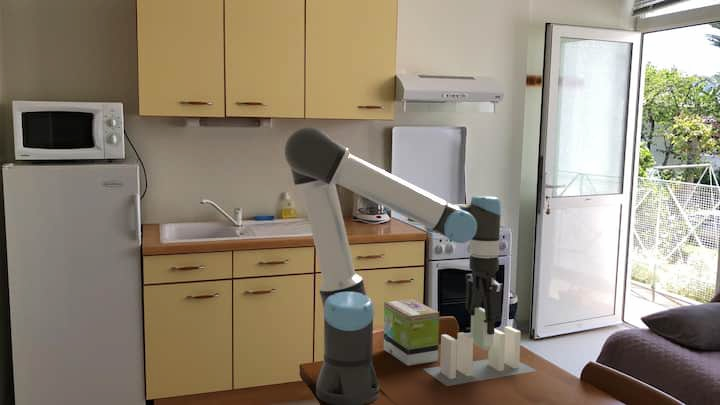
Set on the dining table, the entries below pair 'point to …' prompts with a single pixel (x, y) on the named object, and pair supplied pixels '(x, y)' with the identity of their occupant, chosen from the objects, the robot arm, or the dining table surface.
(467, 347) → the domino
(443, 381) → the slate mat
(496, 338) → the domino
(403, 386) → the dining table surface
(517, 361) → the domino
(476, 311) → the sage domino
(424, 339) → the tea box
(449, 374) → the domino
